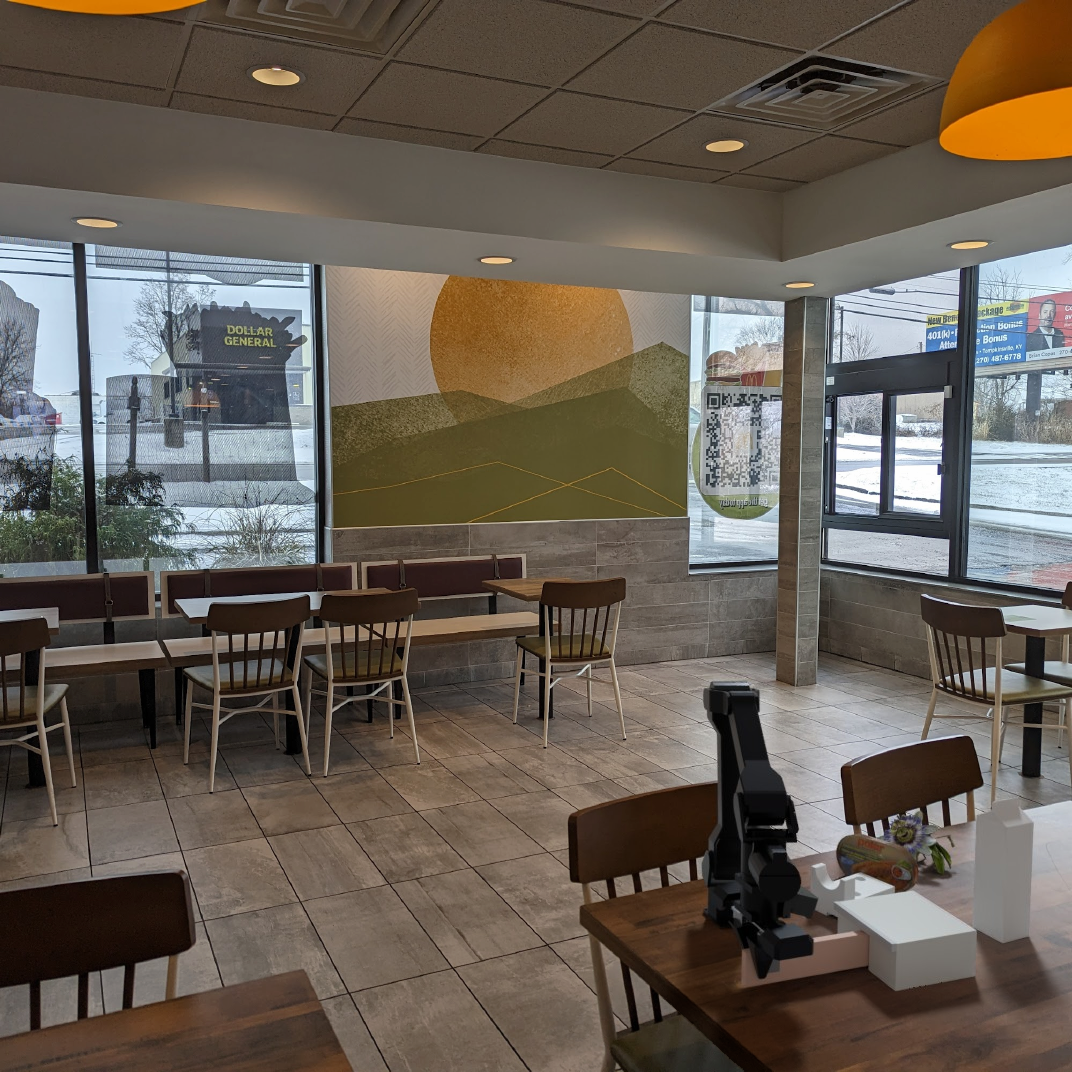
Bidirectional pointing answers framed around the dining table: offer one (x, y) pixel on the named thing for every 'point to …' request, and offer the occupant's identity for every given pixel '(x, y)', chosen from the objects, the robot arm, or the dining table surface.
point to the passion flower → (918, 839)
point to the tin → (877, 860)
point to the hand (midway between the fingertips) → (759, 975)
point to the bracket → (843, 888)
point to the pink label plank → (813, 959)
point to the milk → (1003, 871)
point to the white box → (910, 939)
